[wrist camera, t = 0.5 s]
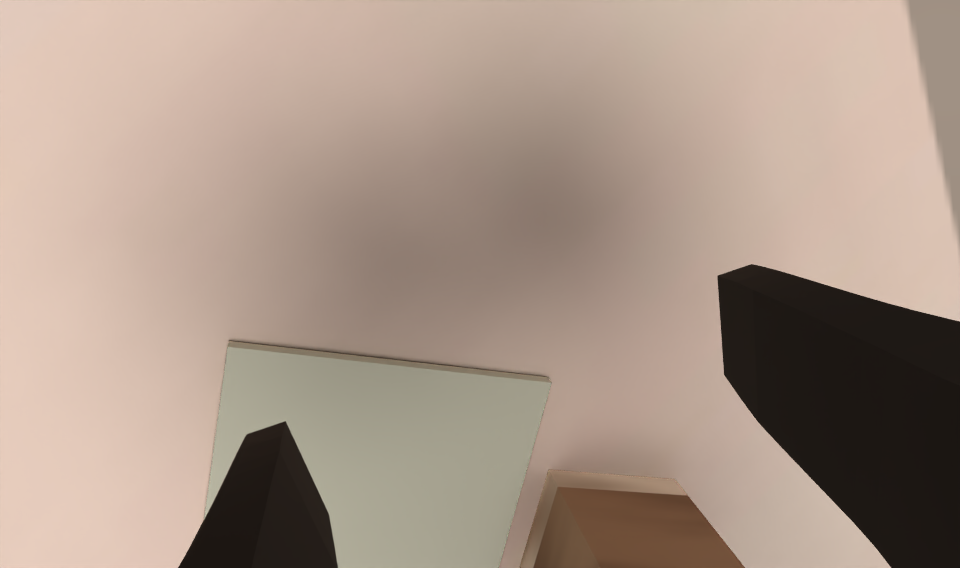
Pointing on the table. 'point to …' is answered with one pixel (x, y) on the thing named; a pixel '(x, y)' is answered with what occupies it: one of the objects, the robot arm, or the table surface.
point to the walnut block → (621, 525)
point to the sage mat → (391, 448)
